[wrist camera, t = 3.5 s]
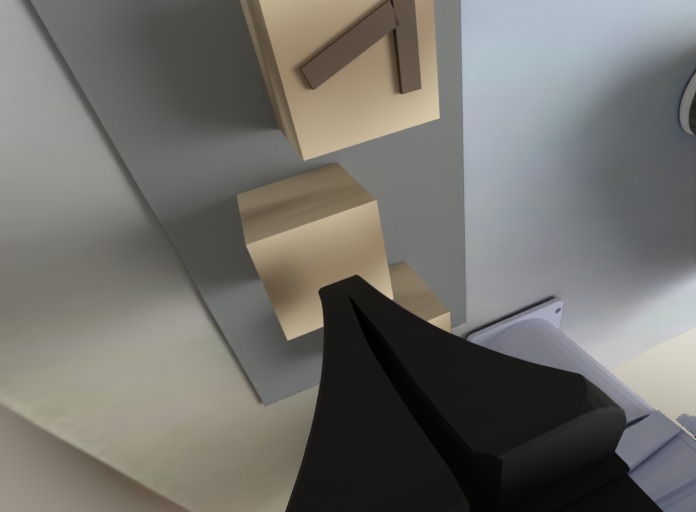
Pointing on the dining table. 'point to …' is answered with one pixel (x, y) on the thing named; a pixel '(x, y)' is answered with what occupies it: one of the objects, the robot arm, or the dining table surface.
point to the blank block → (312, 241)
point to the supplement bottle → (689, 108)
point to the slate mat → (255, 159)
